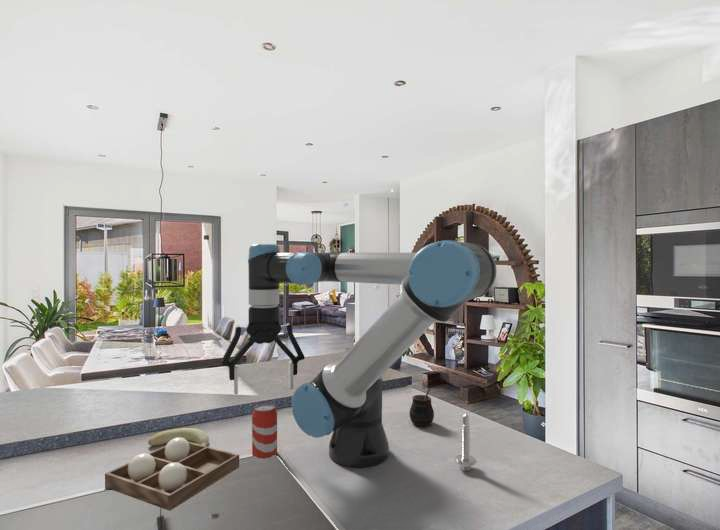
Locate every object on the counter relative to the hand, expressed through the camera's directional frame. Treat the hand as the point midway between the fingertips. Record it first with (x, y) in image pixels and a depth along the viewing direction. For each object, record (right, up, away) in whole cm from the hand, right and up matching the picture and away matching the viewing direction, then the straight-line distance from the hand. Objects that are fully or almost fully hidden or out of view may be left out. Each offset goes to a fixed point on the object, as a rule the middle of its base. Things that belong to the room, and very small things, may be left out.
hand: (263, 390), depth 110 cm
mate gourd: (+43, -16, +21) cm, 50 cm away
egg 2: (-20, -16, -5) cm, 26 cm away
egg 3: (-15, -16, -17) cm, 28 cm away
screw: (+49, -17, -7) cm, 52 cm away
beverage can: (0, -16, 0) cm, 16 cm away
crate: (-18, -16, -11) cm, 27 cm away
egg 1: (-24, -16, -13) cm, 32 cm away
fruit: (-24, -17, +6) cm, 30 cm away
